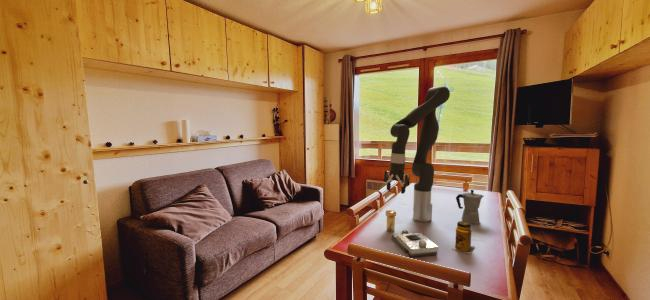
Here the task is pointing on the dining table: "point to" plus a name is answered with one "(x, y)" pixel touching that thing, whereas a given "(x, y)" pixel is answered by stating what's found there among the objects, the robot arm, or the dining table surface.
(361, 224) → the dining table surface
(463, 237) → the yellow jar
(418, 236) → the slotted plate with knobs
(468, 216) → the coffeepot
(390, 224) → the brass pin
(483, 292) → the dining table surface
